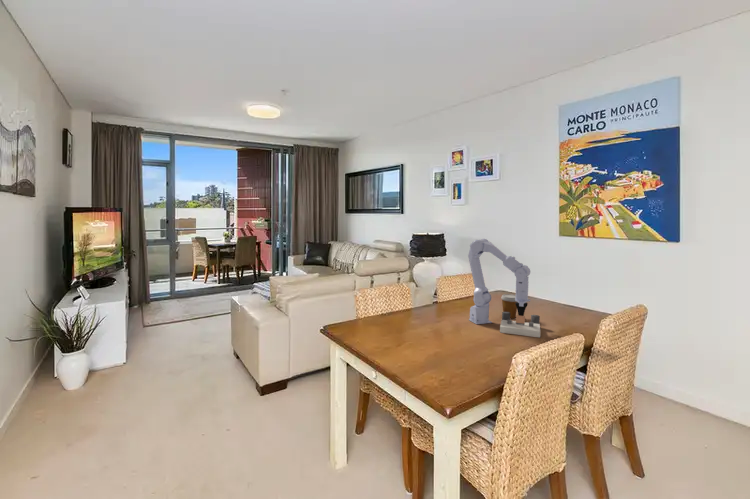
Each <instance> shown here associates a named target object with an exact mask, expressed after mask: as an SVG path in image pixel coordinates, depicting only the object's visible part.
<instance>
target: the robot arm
mask: <svg viewBox="0 0 750 499" xmlns="http://www.w3.org/2000/svg"><path fill="white" fill-rule="evenodd" d="M483 253H491V254H492V255H493V256H495V258H497V259H498V260H500V261H502V265H503V266H505V268H507V269H508V270H509V271H510V272H512V273H514V276H515V278H516V279H515V295H516V297H515V301H517V302H516V303H515V305H516V307H517V315H519V316H525V312H526V310H527V306H528V304H529V303H528V302H531V299H529V276H530V274H531V268H530V267H529V266H528V265H525V264H523V263H522V262H520V261H518V260H517V259H516V257H515V256H512V255H506V254H505V253H504V252H503V251H502V250H501V249H499V248H498V247H497V246H495V244H493V243H492V242H491V241H489V240H488V239H487V238H481V239H474V240H473V241H472V242H471V243H470V245H469V252H468V254H467V257H468V262H469V266H470V270H471V275H472V281H473V285H474V290H473V303H474V305H472V306H470V308H469V318H468V321H470V322H471V323H473V324H476V325H485V324H492V323H493V321H491V320H490V302H491V301H492V295H491V293H490V292H489V289H488V288H487V287H486V283H485V279H484V274H483V269H482V266H481V261H480V257H481V255H483Z"/></svg>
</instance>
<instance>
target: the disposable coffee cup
mask: <svg viewBox="0 0 750 499" xmlns="http://www.w3.org/2000/svg"><path fill="white" fill-rule="evenodd" d="M515 297H516V294H511V293H508V294H507V293H504V294H502V295H501V297H500V298H501V304H502V305H501V306H502V312H510V320H512V319H516V315H517V312H518V310H517V307H516V305H515V303H516V302H517V301H515Z"/></svg>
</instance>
